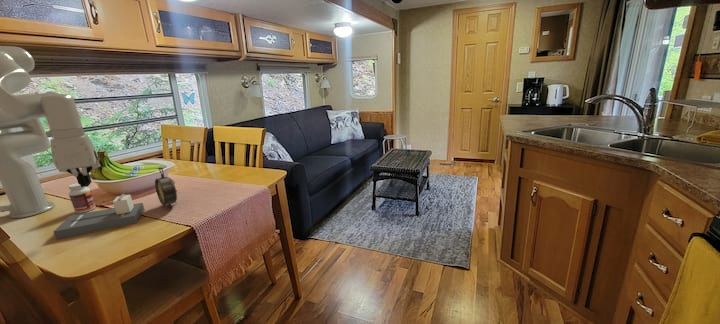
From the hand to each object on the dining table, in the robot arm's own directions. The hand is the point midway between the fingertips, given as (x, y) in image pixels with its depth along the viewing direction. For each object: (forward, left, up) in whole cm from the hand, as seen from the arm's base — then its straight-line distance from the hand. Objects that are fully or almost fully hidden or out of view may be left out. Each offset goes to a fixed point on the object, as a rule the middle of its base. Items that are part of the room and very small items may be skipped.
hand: (86, 185), depth 101 cm
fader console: (+2, 0, -15) cm, 15 cm away
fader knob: (+9, 0, -12) cm, 14 cm away
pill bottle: (-9, +18, -15) cm, 25 cm away
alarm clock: (+22, +4, -15) cm, 27 cm away
